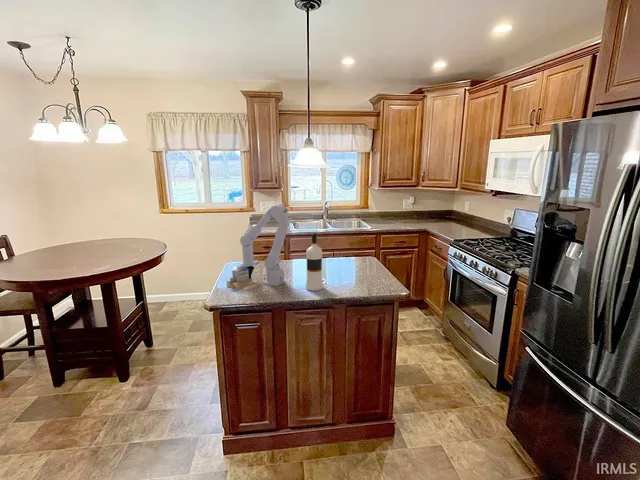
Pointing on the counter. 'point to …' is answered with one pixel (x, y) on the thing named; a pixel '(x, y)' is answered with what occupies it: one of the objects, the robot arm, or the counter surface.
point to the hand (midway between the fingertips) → (249, 278)
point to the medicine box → (240, 274)
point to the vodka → (314, 266)
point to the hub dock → (242, 284)
